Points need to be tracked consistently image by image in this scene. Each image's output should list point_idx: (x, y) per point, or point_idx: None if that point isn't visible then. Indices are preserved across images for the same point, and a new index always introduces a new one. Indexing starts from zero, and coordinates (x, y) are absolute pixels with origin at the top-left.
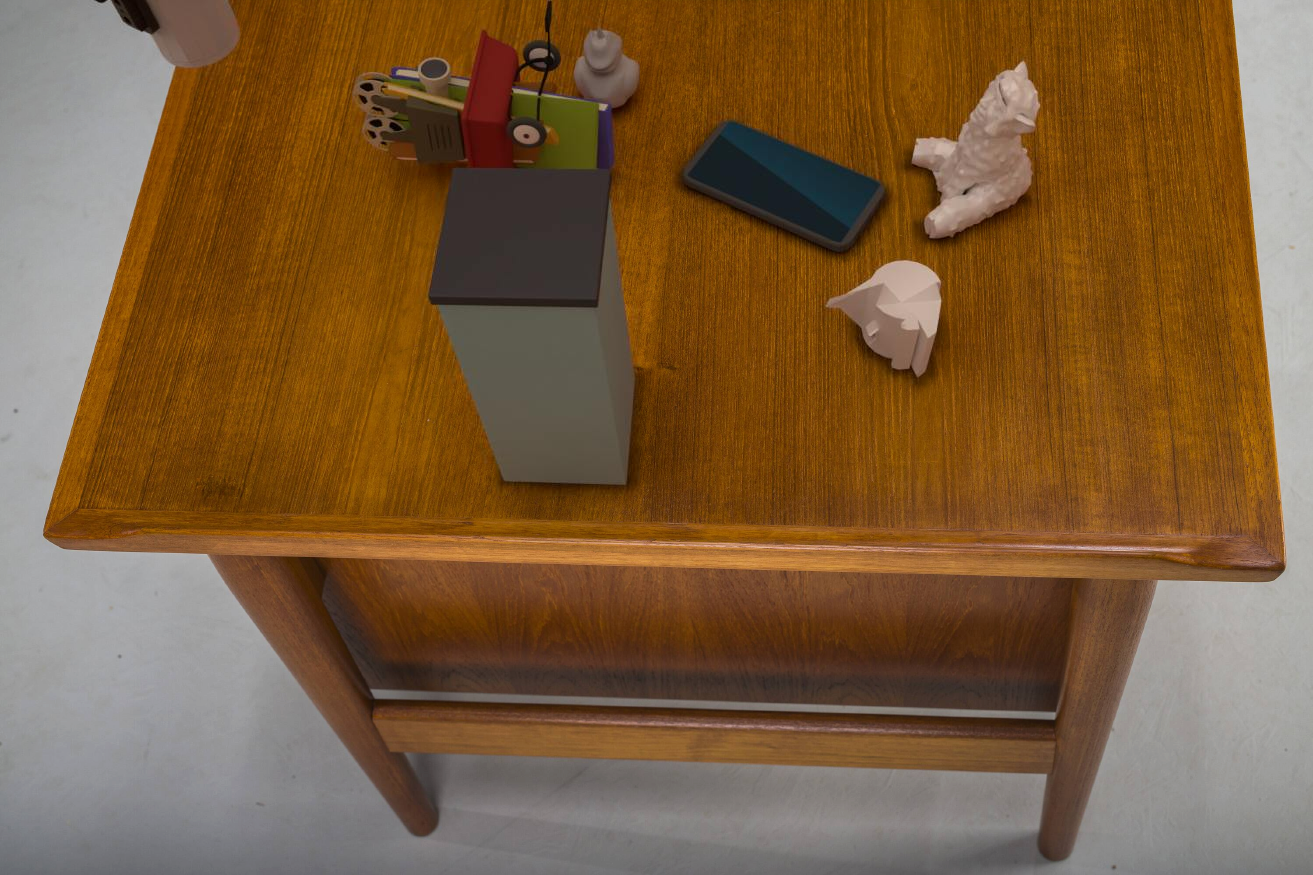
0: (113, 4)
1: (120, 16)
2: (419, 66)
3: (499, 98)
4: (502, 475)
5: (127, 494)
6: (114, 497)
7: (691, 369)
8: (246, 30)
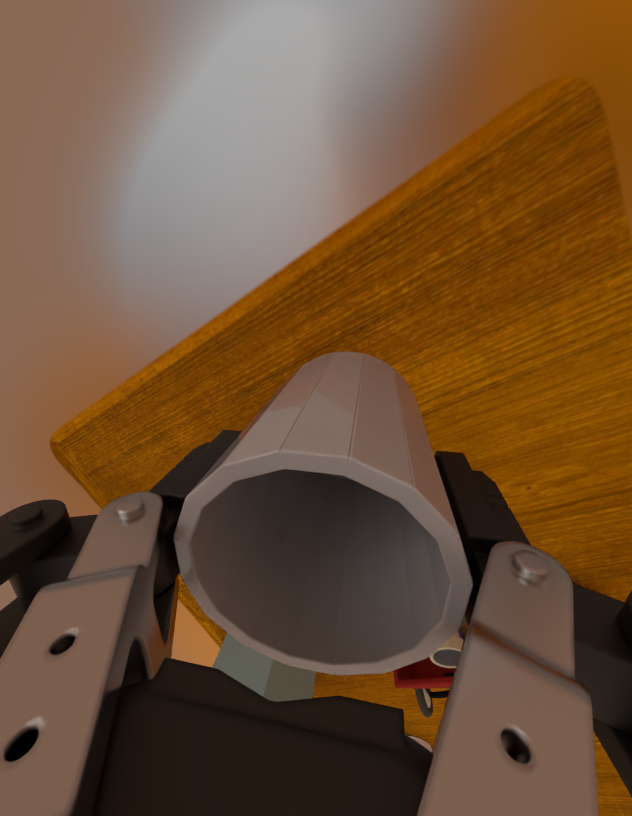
0: (165, 476)
1: (186, 456)
2: (445, 648)
3: (446, 686)
4: (226, 634)
5: (84, 464)
6: (77, 458)
7: (339, 680)
8: (561, 170)
